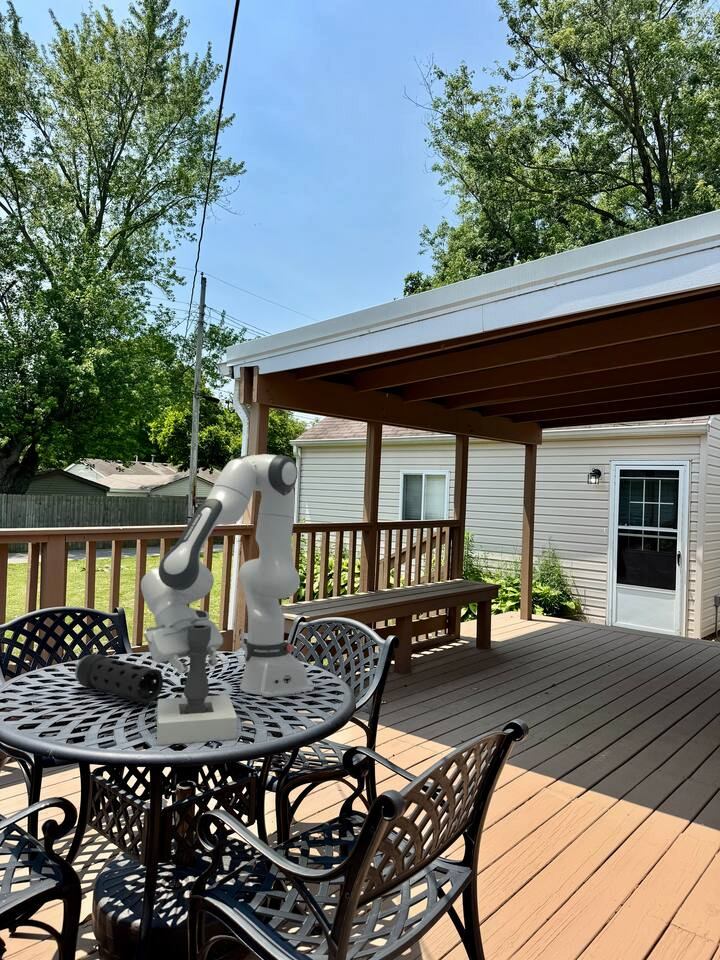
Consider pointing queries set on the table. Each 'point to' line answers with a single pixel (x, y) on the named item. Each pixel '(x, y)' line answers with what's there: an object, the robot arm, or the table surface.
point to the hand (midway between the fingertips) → (199, 668)
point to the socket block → (195, 721)
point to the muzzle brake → (119, 678)
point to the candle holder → (197, 669)
